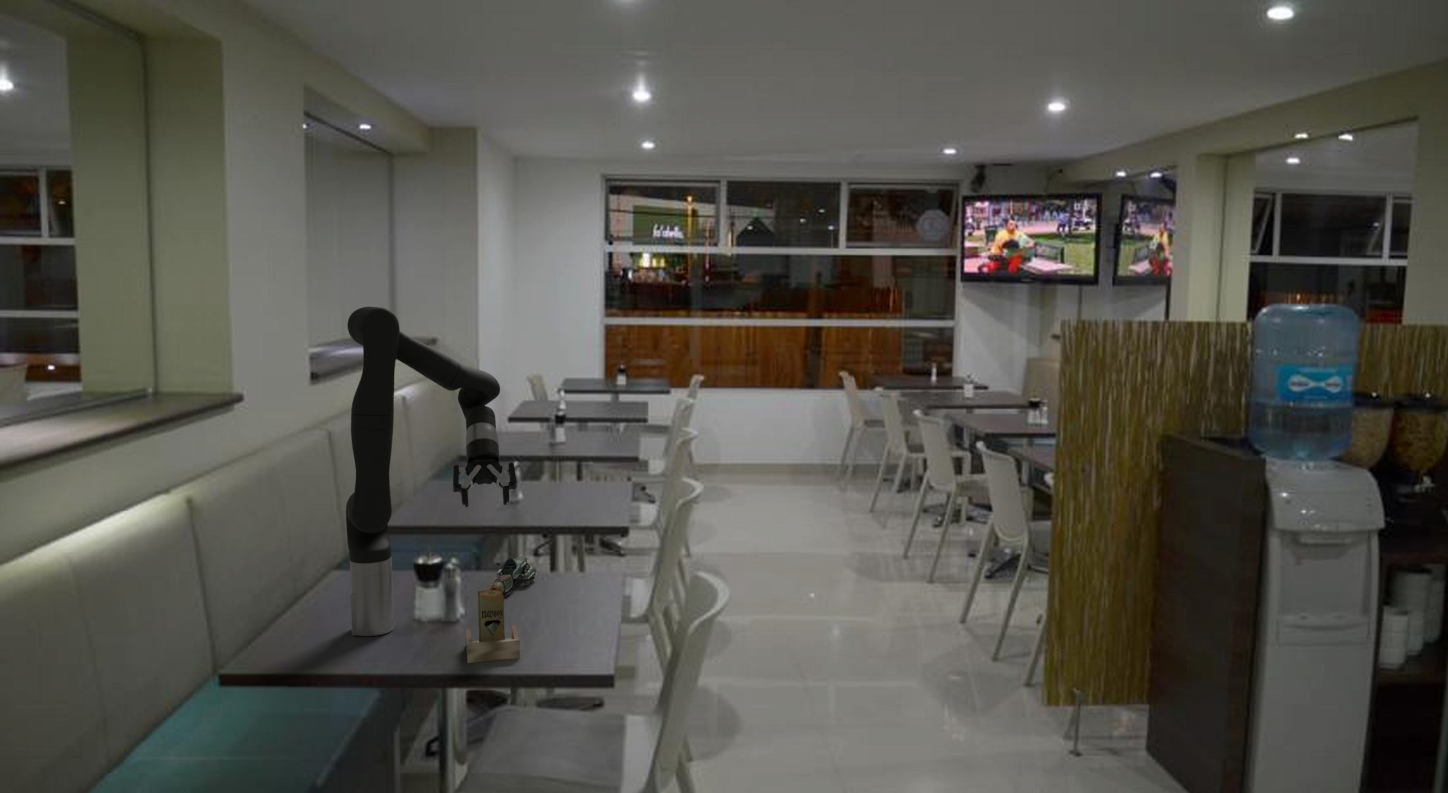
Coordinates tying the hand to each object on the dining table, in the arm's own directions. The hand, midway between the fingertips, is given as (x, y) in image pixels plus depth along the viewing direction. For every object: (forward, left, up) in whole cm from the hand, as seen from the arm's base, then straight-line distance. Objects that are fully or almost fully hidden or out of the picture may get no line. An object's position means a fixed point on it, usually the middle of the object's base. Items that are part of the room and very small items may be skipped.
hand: (486, 504), depth 241 cm
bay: (0, -12, -31) cm, 33 cm away
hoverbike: (+7, +35, -31) cm, 47 cm away
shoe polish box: (0, -12, -30) cm, 32 cm away
